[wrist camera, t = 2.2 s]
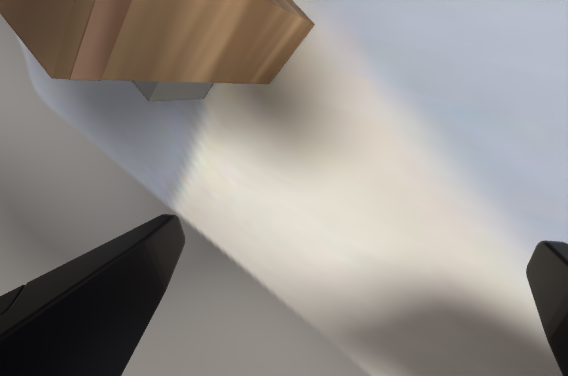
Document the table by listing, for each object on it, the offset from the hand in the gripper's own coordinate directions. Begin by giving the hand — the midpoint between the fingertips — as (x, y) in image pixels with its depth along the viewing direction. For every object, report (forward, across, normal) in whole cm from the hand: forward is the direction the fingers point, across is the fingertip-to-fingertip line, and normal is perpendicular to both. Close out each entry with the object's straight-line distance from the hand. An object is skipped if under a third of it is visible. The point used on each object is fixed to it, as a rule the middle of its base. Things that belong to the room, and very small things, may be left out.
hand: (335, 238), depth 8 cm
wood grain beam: (+14, +5, -3) cm, 16 cm away
